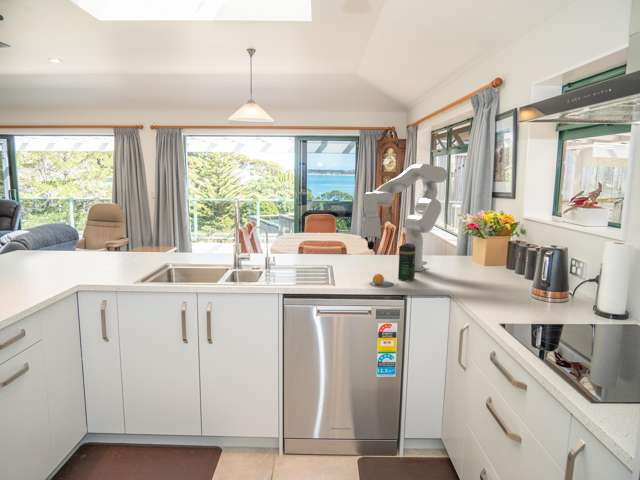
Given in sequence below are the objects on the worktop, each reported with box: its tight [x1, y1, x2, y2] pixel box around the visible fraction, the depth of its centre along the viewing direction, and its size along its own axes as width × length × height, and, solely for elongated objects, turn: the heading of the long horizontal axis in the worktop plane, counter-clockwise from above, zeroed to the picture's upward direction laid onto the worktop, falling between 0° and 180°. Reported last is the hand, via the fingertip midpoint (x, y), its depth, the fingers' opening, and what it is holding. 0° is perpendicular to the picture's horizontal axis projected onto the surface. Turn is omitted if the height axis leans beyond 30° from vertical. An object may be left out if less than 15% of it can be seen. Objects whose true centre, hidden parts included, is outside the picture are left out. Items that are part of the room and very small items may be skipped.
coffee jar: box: [397, 242, 416, 281], centre depth 211 cm, size 10×8×19 cm
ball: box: [372, 273, 385, 285], centre depth 200 cm, size 6×6×6 cm
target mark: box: [369, 280, 395, 288], centre depth 201 cm, size 12×12×1 cm
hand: (370, 249), depth 221 cm, fingers closed
